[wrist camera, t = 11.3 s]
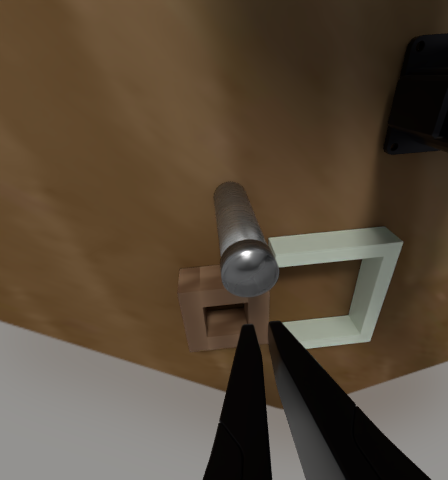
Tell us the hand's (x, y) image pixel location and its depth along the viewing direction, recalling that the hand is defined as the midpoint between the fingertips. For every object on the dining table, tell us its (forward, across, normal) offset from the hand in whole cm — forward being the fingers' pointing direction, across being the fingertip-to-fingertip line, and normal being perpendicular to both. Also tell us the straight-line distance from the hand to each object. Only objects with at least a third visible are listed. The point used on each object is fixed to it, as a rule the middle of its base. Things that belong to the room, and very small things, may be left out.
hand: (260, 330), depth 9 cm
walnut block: (+12, +1, +10) cm, 15 cm away
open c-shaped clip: (+12, -7, +10) cm, 17 cm away
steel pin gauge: (+12, 0, 0) cm, 12 cm away
